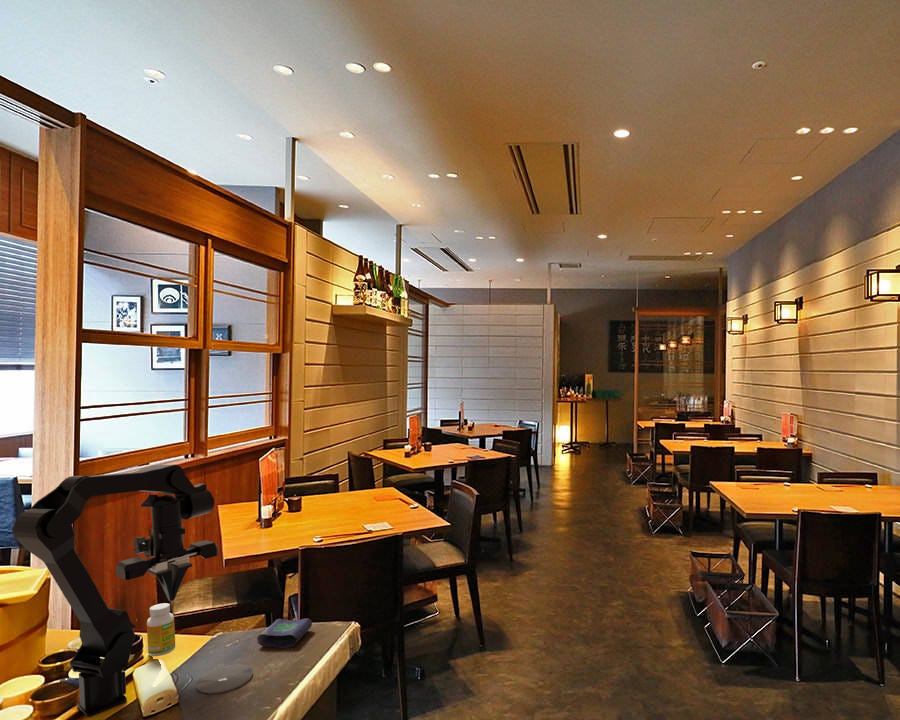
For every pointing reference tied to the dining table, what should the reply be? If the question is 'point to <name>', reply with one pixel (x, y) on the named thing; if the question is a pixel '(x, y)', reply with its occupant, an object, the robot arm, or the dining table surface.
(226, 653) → the dining table surface
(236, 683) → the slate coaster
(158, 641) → the supplement bottle
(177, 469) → the robot arm
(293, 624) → the flask
